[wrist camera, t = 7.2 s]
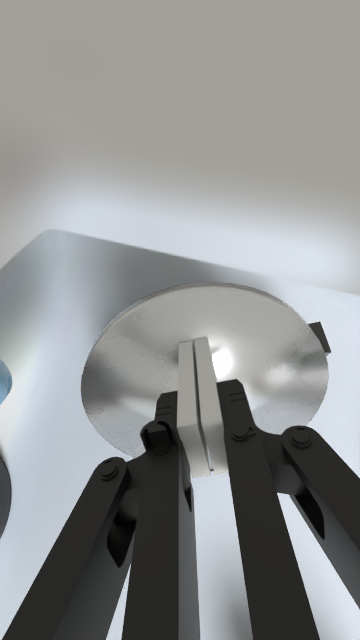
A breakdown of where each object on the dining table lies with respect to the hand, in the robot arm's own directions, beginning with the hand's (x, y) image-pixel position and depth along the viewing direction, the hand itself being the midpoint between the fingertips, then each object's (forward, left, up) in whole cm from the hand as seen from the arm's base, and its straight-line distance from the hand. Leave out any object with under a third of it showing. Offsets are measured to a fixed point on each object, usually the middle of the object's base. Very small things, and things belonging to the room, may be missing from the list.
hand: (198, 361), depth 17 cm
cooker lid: (0, -1, -4) cm, 5 cm away
